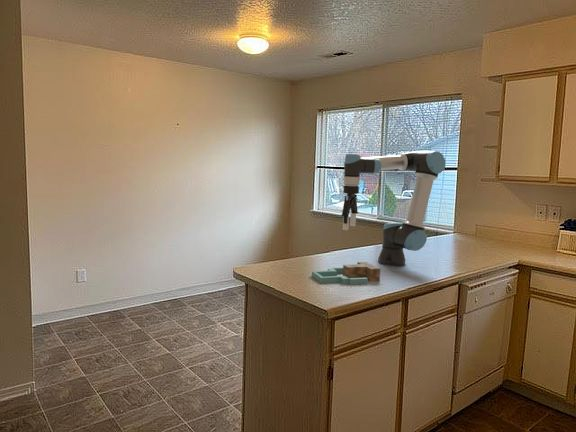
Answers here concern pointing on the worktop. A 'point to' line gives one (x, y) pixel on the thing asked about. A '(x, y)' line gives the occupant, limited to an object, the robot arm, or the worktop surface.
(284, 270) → the worktop surface
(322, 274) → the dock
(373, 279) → the t block
